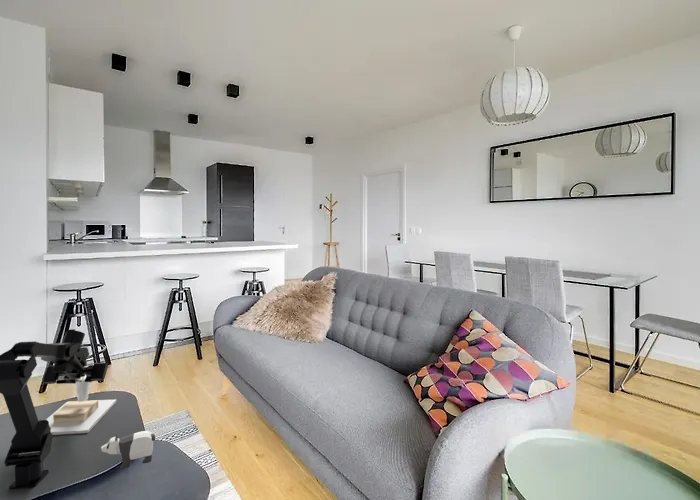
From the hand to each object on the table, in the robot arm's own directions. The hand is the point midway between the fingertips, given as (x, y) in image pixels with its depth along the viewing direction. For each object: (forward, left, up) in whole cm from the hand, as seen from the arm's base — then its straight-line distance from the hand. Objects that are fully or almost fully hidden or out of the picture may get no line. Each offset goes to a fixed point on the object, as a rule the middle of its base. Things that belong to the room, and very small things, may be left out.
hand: (83, 381), depth 137 cm
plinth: (-1, +2, -13) cm, 13 cm away
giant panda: (-30, -28, -14) cm, 43 cm away
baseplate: (-1, +2, -13) cm, 13 cm away
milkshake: (-1, 0, -7) cm, 7 cm away
